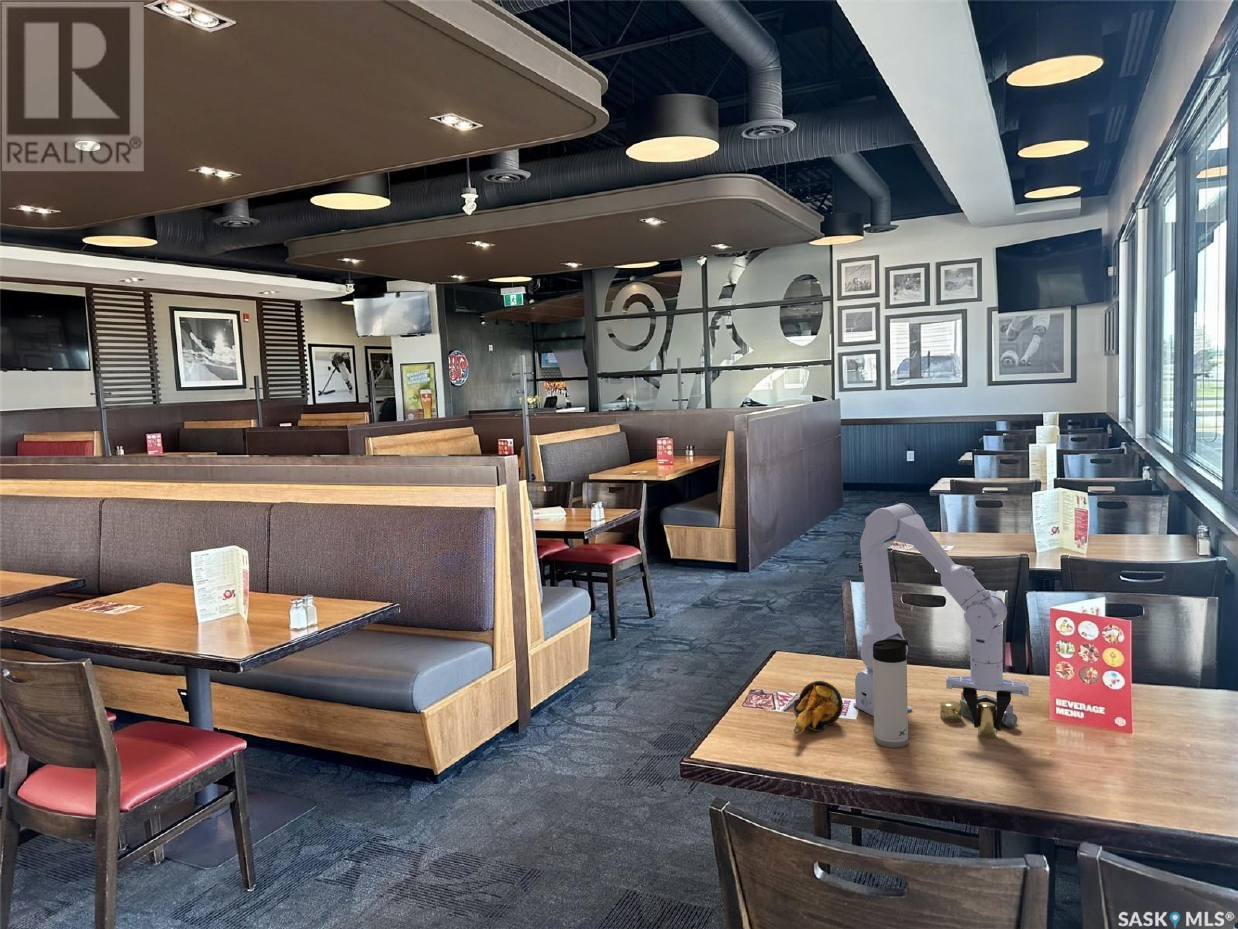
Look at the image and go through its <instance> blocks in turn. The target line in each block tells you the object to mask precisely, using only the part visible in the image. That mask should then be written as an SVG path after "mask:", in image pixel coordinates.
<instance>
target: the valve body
mask: <svg viewBox="0 0 1238 929" xmlns="http://www.w3.org/2000/svg"><path fill="white" fill-rule="evenodd" d="M960 697H961V700H959V703H960V704H961V716H962V717H965V718H967V719H969V720H971V721H973V717H972V714H971V711H970V708H969V706H968V704H967V702H966V700H965V698H964V696H963V691H961V692H960ZM981 702H988V703H992V704H994V705H996V711H997V698H995V697H992V696H990V695H988V694H982V695H979V694H978V693H977V713H978V703H981ZM1017 723H1018V717H1017V715H1016V714H1015V713H1014V705H1012V704H1009V705H1008V707H1007V709H1006V711H1005V713H1004V715H1003V718H1002V721H1001V725H1003V726H1005V727H1008V728H1010V729H1011V728H1014V727H1016V725H1017Z"/></svg>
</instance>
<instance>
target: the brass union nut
mask: <svg viewBox="0 0 1238 929" xmlns="http://www.w3.org/2000/svg"><path fill="white" fill-rule="evenodd" d="M939 705H940V706H939V709H940V712H939V714H940V719H941V720H943V721H944V722H950V723H958V722H961V721H962V715H961V704H960V702H957V701H955V700H954V701H953V700H943V701H940V704H939Z"/></svg>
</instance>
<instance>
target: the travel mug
mask: <svg viewBox="0 0 1238 929" xmlns="http://www.w3.org/2000/svg"><path fill="white" fill-rule="evenodd" d="M906 645H907V646H908V647H909V641H908V640H907V639H905V640H899V639H886V640H881V641H877V642H875V643H874V644H873V697H874V716H873V729H874V730H873V734H874V737H873V738H874V741H875V742H876V744H878V745H880V746H883V747H886V748H894V749H895V748H896V749H898V748H903V747H905V746H907V744H909V716H908V713H909V711H908V706H909V705H908V662H907V661H908V660H907V659H908V658H907V655H906Z"/></svg>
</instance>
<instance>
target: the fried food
mask: <svg viewBox="0 0 1238 929" xmlns="http://www.w3.org/2000/svg"><path fill="white" fill-rule="evenodd" d="M792 708H793V710H792V711H793V713H794V714H793V715H794V717H795V720H796V721H795V723H794V727H793V733H794V734H795V736H798V735H800V734H802V733H803V732H805V729H808V730H810V731H813V732H823V731H824V730H825V727H827V726H830V725H832V724H834V723H836V721H838V720H839V718H840V717H841V715H842V712H843V708H844V702H843V697H842V695H841V693H840V691H838V689H837V688H836V687H835V686H834V685H833V684H831V683H829V682H828V681H827V682H826V681H824V680H816V681H812V682H810V683H808V684H807V685H805V687H803V689H802V690H801V692H800V693H799V696H798V699H795V700H793V702H792Z"/></svg>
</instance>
